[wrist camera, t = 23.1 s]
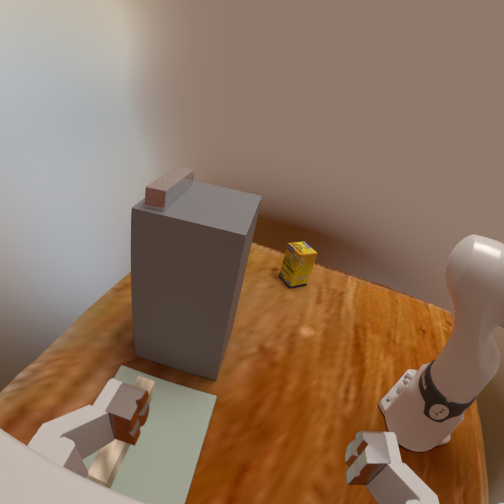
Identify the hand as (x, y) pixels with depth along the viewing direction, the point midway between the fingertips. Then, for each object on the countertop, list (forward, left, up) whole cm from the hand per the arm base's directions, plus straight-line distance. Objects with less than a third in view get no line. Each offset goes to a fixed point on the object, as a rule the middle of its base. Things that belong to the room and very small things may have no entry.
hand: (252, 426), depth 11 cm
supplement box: (-64, -27, -38) cm, 79 cm away
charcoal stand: (-27, -29, -37) cm, 54 cm away
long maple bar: (-4, -18, -35) cm, 39 cm away
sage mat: (-2, -15, -37) cm, 40 cm away
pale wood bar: (-23, -33, -7) cm, 41 cm away
